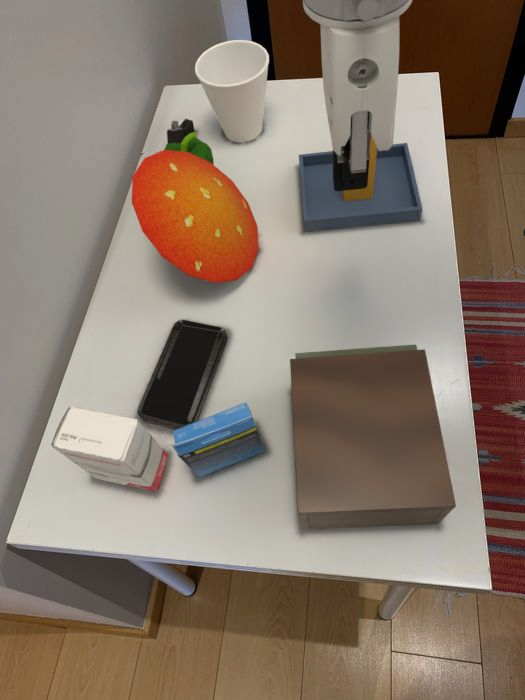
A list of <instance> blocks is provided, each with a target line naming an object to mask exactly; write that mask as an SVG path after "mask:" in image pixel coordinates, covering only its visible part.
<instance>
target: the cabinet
mask: <svg viewBox="0 0 525 700" xmlns="http://www.w3.org/2000/svg"><path fill="white" fill-rule="evenodd" d="M289 366H290V367H289V368H290V369H289V370H290V384H291V385H290V387H291V388H290V389H291V406H292V407H291V408H292V425H293V444H294V445H293V446H294V466H295V482H296V503H297V504H296V505H297V516H298V518H299V522H300V525H301V529H302V531H303V530H305V531H306V530H326V529H327V530H328V529H350V528H351V529H353V528H376V527H379V528H380V527H397V526H398V527H399V526H400V527H404V526H424V525H425V526H426V525H427V526H428V525H439V523H441V522H442V521H443V520H444V519H445V518H446V517H447V516H448V515H449V513H451V512H452V511H453V510H454V509H455V508H456V507H457V505H456V498H455V494H454V488H453V484H452V479H451V474H450V469H449V464H448V458H447V454H446V448H445V444H444V439H443V434H442V429H441V424H440V419H439V418H440V417H439V413H438V408H437V402H436V399H435V398H436V397H435V393H434V388H433V382H432V378H431V373H430V368H429V363H428V357H427V353H426V349H424V348H423V349H417V350H409V351H395V352H381V353H367V354H354V355H340V356H326V357H312V358H298V359H296V358H290V359H289Z"/></svg>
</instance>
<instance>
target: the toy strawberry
mask: <svg viewBox="0 0 525 700" xmlns="http://www.w3.org/2000/svg"><path fill="white" fill-rule="evenodd" d="M131 184H132V185H131V204H132V207H133V210H134V213H135V215H136V218H137V221H138V223H139V225H140V229H141V231H142V233H143V234H144V235H145V237H146V238H147V240H148V241H149V242H150V243H151V245H152V246H153V247H154V249H155V250H157V252H158V253H159V255H160V256H161V257H162V258H163V259H164V260H166V261H167V262H169V263H170V264H171V265H173V266H174V267H175V268H177V269H178V270H180V271H181V272H183V273H184V274H185V275H187V277H192V278H195V279H199V280H202V281H205V282H208V283H211V284H219V283H227V282H235V281H238V280H240V279H241V277H242V276H244V275H245V274H247V273H248V272H249V271H250V270H251V269H252V268H253V266H254V263H255V260H256V258H257V256H258V253H259V250H260V246H259V245H260V243H259V231H258V229H259V228H258V224H257V222H256V218H255V216H254V214H253V212H252V209H251V206H250V204H249V202H248V201H247V199H246V198H245V196H244V194H243V193H242V192H241V191H240V189H239V188H238V186H237V185H236V183H234V181H233V180H232V179H231V178H230V177H229V176H227V175H226V174H225V173H224V172H223V171H222V170H221V169H219V168H218V167H217V166H216V165H213V164H212V163H210V162H208V161H206V160H204V159H202V158H199V157H197V156H195V155H193V154H191V153H189V152H181V151H170V150H164V149H163V150H161V151H158V152H156V153H153V154H151V155H148V156H147V157H144V158H143V160H142V161H141V163H140V164H139V166H138V167H137V169H136V170H135V172H134V174H133V175H132V183H131Z"/></svg>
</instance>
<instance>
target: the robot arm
mask: <svg viewBox="0 0 525 700" xmlns="http://www.w3.org/2000/svg"><path fill="white" fill-rule="evenodd" d="M412 3H413V0H302V7H303V10H304V12H305V14H306V15H307V16H308V17H309V18H310V19H311V20H312V21H314V22H316V23H318V24H319V25H320V27H319V28H320V52H321V53H320V55H321V73H322V74H321V75H322V84H323V95H324V104H325V110H326V116H327V123H328V128H329V135H330V141H331V147H332V151H333V182H334V190H335V191H346V190H356V189H364V188H366V187H367V185H368V172H369V160H370V153H369V152H370V144H371V135H372V137H373V139H374V142H375V144H376V146H377V149H378V151H384V150H385V151H388V150H389V149H390V148H391V146H392V145H393V144H394V135H395V123H396V122H395V121H396V111H397V98H398V97H397V96H398V83H399V66H400V32H401V31H400V16H401V15H403V14H404V13H405V12H406V11H407V10H408V9H409V7H410V6H411V4H412Z"/></svg>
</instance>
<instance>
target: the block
mask: <svg viewBox="0 0 525 700" xmlns="http://www.w3.org/2000/svg"><path fill="white" fill-rule="evenodd" d="M369 153H370V160H369V172H368V185H367V187H366V188H364V189H356V190H346V191H342V192H343V199H344V202H345V201H355V200H365V199H372V198H373V187H374V177H375V166H376V156H377V146H376V144H375V142H374V139H373V137H372V135H371V144H370V152H369Z"/></svg>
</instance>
